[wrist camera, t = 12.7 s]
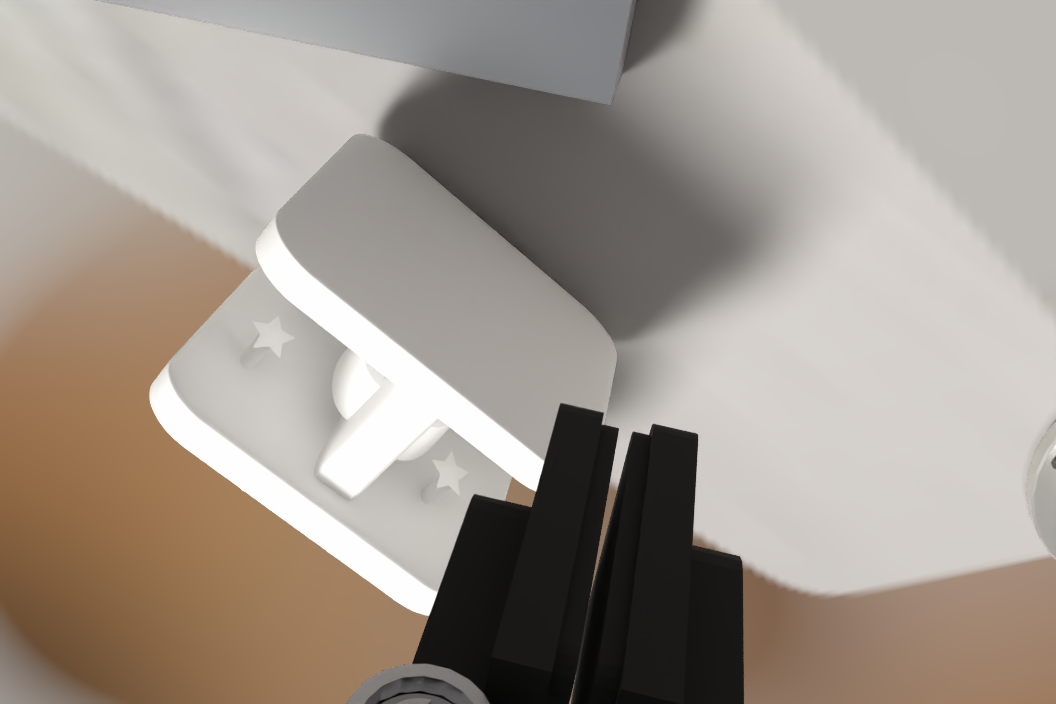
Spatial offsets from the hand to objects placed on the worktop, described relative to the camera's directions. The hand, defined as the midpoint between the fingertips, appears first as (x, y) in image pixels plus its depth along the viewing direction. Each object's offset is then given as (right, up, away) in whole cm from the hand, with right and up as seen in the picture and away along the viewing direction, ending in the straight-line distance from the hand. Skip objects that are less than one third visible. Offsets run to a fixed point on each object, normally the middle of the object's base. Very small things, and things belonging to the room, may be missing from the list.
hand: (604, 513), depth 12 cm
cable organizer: (-5, +4, +33) cm, 34 cm away
